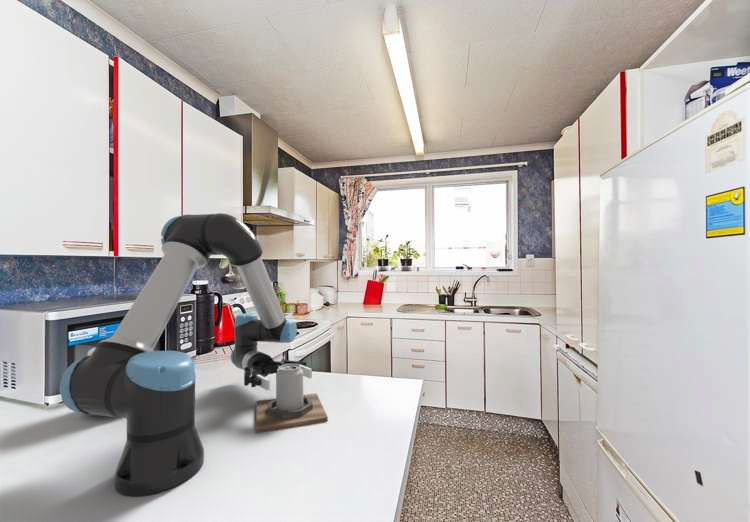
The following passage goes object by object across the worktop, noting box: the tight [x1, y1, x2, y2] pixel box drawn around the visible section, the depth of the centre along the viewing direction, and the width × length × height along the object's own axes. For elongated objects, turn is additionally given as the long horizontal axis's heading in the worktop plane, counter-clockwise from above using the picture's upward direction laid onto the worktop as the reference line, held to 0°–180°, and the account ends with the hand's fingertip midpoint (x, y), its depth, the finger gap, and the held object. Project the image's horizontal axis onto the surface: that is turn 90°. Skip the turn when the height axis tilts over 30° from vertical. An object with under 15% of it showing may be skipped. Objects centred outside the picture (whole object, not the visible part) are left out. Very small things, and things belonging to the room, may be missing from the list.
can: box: [275, 364, 304, 412], centre depth 94 cm, size 8×8×12 cm
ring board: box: [255, 392, 329, 433], centre depth 94 cm, size 18×18×2 cm
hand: (290, 379), depth 95 cm, fingers open, 13 cm apart
